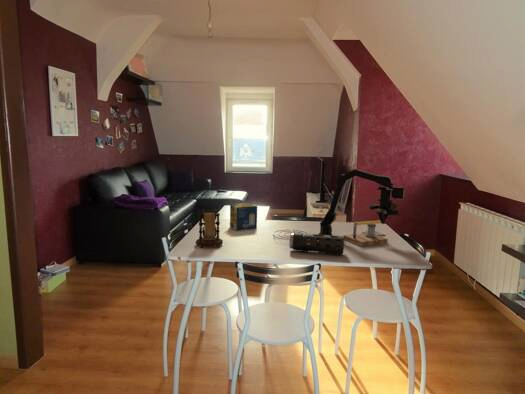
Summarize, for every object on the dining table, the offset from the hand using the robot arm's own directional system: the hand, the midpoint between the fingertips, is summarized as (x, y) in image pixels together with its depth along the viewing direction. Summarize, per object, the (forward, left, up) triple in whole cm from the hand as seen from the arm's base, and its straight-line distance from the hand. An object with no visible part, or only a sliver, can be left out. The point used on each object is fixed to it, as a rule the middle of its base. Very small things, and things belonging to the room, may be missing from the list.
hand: (382, 223), depth 222 cm
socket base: (-8, +5, -11) cm, 15 cm away
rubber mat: (+8, +17, -11) cm, 22 cm away
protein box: (-66, +58, -12) cm, 89 cm away
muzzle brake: (-48, -5, -12) cm, 50 cm away
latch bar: (-7, +5, -8) cm, 12 cm away
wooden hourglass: (-98, +26, -12) cm, 102 cm away
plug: (-4, +5, -11) cm, 13 cm away
